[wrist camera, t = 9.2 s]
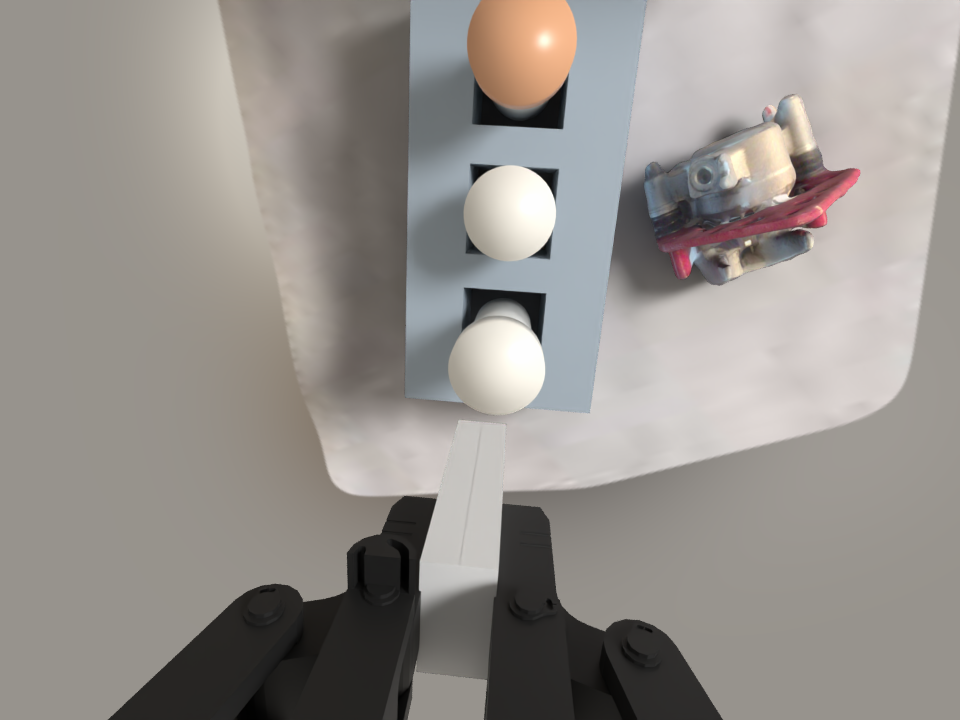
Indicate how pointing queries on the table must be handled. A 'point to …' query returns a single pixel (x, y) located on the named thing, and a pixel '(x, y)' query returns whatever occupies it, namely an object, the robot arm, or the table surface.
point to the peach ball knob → (521, 52)
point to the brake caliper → (745, 197)
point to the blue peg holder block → (530, 144)
